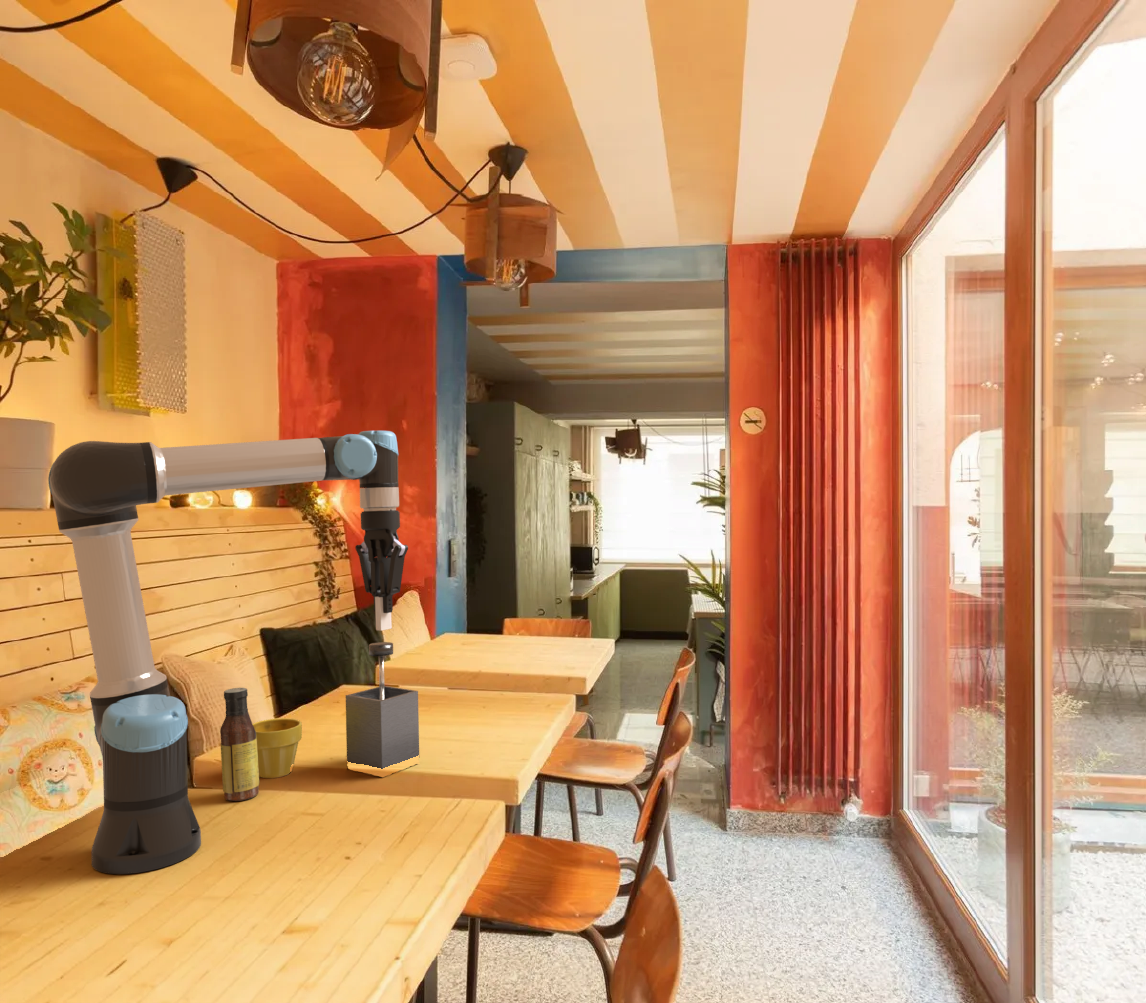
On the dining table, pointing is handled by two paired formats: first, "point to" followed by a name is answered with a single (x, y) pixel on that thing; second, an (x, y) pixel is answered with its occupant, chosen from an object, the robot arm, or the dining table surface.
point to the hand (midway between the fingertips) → (383, 629)
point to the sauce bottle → (238, 748)
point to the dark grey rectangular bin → (382, 726)
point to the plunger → (381, 661)
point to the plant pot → (277, 745)
